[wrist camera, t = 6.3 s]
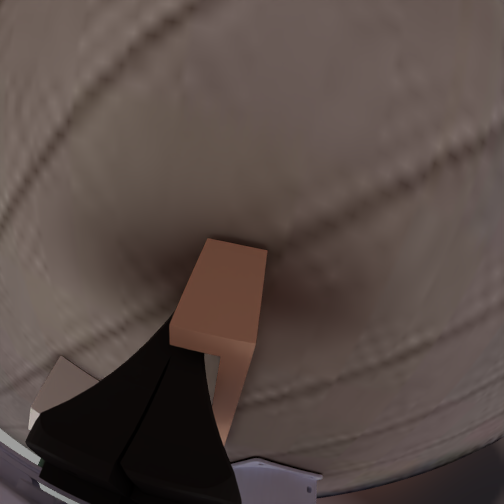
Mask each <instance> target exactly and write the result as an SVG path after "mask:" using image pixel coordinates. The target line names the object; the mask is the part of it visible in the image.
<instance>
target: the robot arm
mask: <svg viewBox="0 0 504 504" xmlns="http://www.w3.org/2000/svg"><path fill="white" fill-rule="evenodd" d="M174 313H175V311H174ZM174 313H173V314H172V315H171V316H170V318H169V319H168V320H167V321H166V322H165V323H164V325H163V326H162V327H161V328H160V329H159V330H158V331H157V332H156V333H155V334H154V335H153V336H152V337H151V338H150V340H149V341H148V342H147V343H146V344H145V345H143V346H142V347H141V348H140V349H139V350H138V351H137V352H136V353H135V354H134V355H133V356H132V357H131V358H129V359H128V360H127V361H126V362H125V363H124V364H122V365H121V366H120V367H119V368H117V369H116V370H115V371H114V372H112V373H111V374H109V375H108V376H107V377H105V378H104V379H102V380H101V381H100V382H98V383H97V384H95V385H94V386H92V387H90V388H89V389H87V390H85V391H84V392H82V393H80V394H78V395H77V396H75V397H73V398H71V399H69V400H68V401H66V402H63V403H61V404H59V405H57V406H55V407H52V408H50V409H48V410H46V411H43V412H41V413H40V415H39V417H38V418H37V419H36V421H35V423H34V424H33V426H32V429H31V431H30V433H29V435H28V437H27V439H26V441H25V442H26V444H27V446H28V447H29V448H30V449H31V450H32V451H34V452H35V453H36V454H37V455H38V456H40V457H41V458H42V459H43V460H45V462H44V465H43V467H42V468H41V467H40V466H38V465H36V464H34V463H33V462H31V461H29V460H28V459H26V458H25V457H23V456H21V455H20V454H18V453H17V452H15V451H14V450H12V449H11V448H9V447H8V446H6V445H5V444H3V443H2V442H0V504H67V503H66V502H64V501H62V500H60V499H58V498H55V497H54V496H52V495H50V494H48V493H47V492H44V491H43V490H41V488H40V486H39V483H41V484H43V485H45V486H47V487H48V488H50V489H52V490H54V491H56V492H58V493H59V494H61V495H63V496H65V497H67V498H69V499H71V500H73V501H75V502H78V503H80V504H316V490H317V480H321V479H322V478H323V475H320V474H315V473H311V472H306V471H302V470H298V469H294V468H291V467H287V466H283V465H280V464H276V463H273V462H270V461H266V460H263V459H260V458H253V459H249V460H245V461H241V462H237V463H233V464H231V463H230V461H229V458H228V456H227V453H226V451H225V448H224V445H223V442H222V440H221V437H220V434H219V430H218V427H217V424H216V420H215V417H214V413H213V409H212V405H211V401H210V396H209V391H208V385H207V379H206V371H205V361H204V353H202V352H198V351H194V350H189V349H185V348H181V347H177V346H173V345H170V332H169V325H170V322H171V320H172V317H173V315H174ZM37 481H38V482H39V483H38V482H37Z"/></svg>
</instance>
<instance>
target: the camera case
mask: <svg viewBox="0 0 504 504" xmlns="http://www.w3.org/2000/svg"><path fill="white" fill-rule="evenodd" d="M98 382H100V381H98V380H96V379H95V378H93V377H92V376H90V375H89V374H87V373H86V372H84V371H83V370H81V369H80V368H78V367H77V366H75V365H74V364H72V363H71V362H70V361H68V360H67V359H65V358H64V357H63V356H60V357H59V359H58V361H57V362H56V364H55V366H54V367H53V369H52V371H51V372H50V374H49V376H48V378H47V379H46V381H45V383H44V385H43V386H42V388H41V390H40V392H39V393H38V395H37V397H36V399H35V401H34V403H33V404H32V406H31V410H30V418H29V428H28V429H29V430H30V431H31V429H32V426H33V424H34V423H35V421H36V419H37V418H38V417H39V415H40V413H41V412H43V411H46V410H48V409H50V408H52V407H55V406H57V405H59V404H61V403H63V402H66V401H68V400H69V399H71V398H73V397H75V396H77V395H78V394H80V393H82V392H84V391H85V390H87V389H89V388H90V387H92V386H94V385H95V384H97V383H98Z"/></svg>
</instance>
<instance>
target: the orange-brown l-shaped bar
mask: <svg viewBox="0 0 504 504" xmlns="http://www.w3.org/2000/svg"><path fill="white" fill-rule="evenodd" d="M266 259H267V250H263V249H258V248H253V247H248V246H244V245H239V244H234V243H229V242H224V241H219V240H214V239H210V238H207V241H206V243H205V245H204V247H203V249H202V251H201V254H200V256H199V258H198V260H197V262H196V265H195V267H194V269H193V271H192V274H191V276H190V278H189V280H188V283H187V285H186V287H185V290H184V292H183V294H182V296H181V299H180V301H179V303H178V306H177V308H176V310H175V313H174V315H173V317H172V320H171V322H170V325H169V332H170V345H173V346H177V347H181V348H185V349H189V350H194V351H198V352H202V353H207V354H211V355H216V356H220V357H221V358H220V363H219V369H218V375H217V381H216V387H215V393H214V399H213V404H212V409H213V413H214V417H215V420H216V424H217V427H218V430H219V434H220V437H221V440H222V442H223V445H225V442H226V439H227V436H228V433H229V430H230V426H231V423H232V420H233V417H234V414H235V411H236V408H237V404H238V401H239V398H240V395H241V392H242V388H243V385H244V382H245V379H246V375H247V372H248V369H249V365H250V362H251V359H252V356H253V352H254V349H255V345H256V340H257V332H258V324H259V316H260V308H261V300H262V292H263V284H264V276H265V267H266Z"/></svg>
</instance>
